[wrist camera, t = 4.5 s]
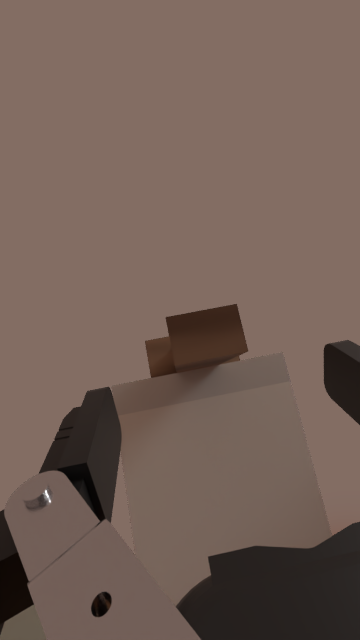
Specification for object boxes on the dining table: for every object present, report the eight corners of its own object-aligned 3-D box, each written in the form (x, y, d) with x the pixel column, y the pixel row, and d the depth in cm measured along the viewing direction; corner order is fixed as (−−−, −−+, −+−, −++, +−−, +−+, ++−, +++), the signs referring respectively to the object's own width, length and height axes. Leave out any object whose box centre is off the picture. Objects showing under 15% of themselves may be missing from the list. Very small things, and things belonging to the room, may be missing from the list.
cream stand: (465, 1032, 13) (282, 352, 20) (212, 1111, 13) (111, 385, 20) (338, 742, 24) (246, 363, 31) (197, 779, 24) (135, 385, 30)
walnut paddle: (296, 342, 12) (276, 273, 12) (124, 375, 11) (114, 303, 12) (226, 366, 29) (219, 337, 30) (157, 380, 29) (152, 350, 30)
